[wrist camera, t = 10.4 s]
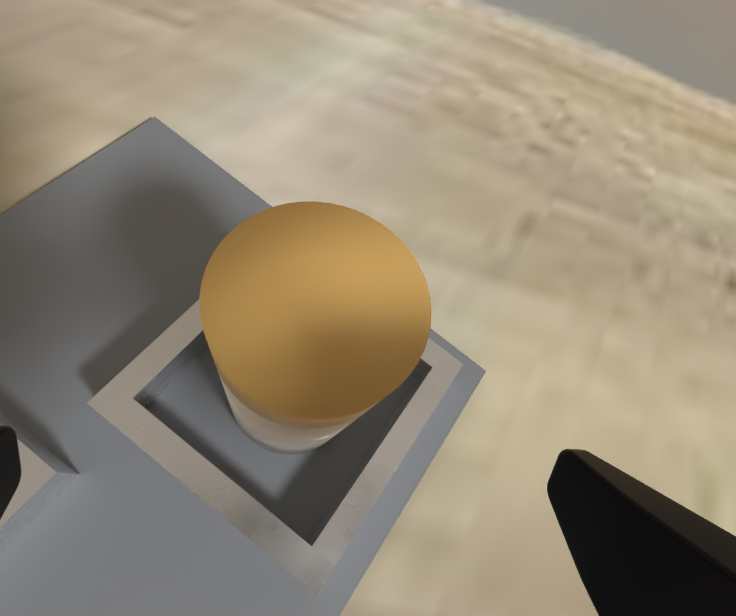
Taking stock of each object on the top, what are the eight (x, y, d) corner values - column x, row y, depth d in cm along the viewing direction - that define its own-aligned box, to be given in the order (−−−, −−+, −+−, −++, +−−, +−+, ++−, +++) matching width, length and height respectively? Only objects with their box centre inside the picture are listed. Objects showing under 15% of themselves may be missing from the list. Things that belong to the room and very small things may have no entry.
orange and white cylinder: (370, 420, 19) (471, 353, 10) (259, 478, 17) (258, 462, 8) (320, 320, 20) (368, 179, 11) (211, 364, 18) (163, 238, 9)
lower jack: (445, 375, 20) (463, 364, 18) (310, 583, 16) (316, 595, 14) (279, 247, 21) (280, 223, 19) (105, 412, 17) (86, 402, 15)
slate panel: (481, 373, 21) (485, 371, 21) (38, 1106, 11) (28, 1133, 10) (156, 124, 23) (154, 116, 22) (-516, 559, 12) (-546, 562, 12)
